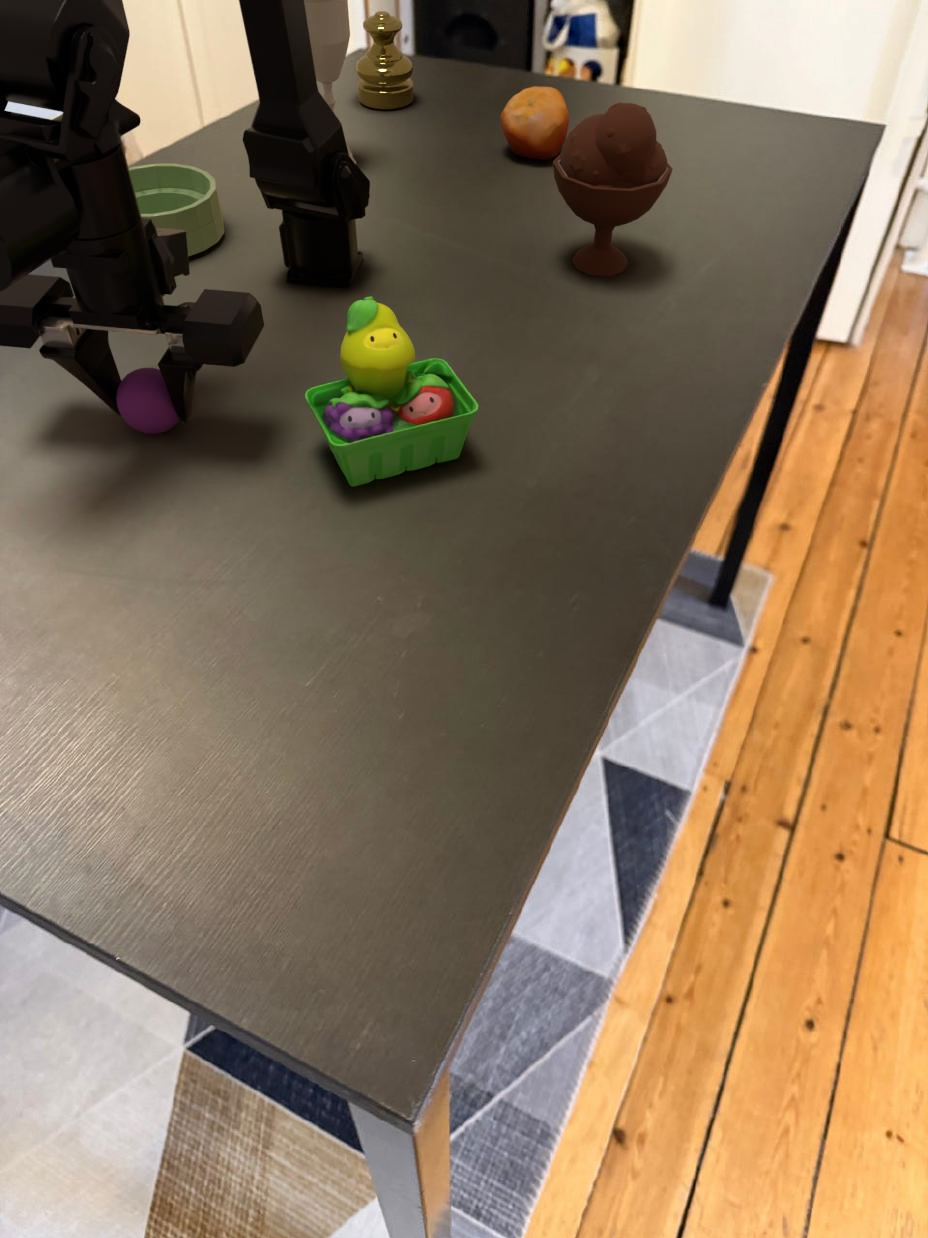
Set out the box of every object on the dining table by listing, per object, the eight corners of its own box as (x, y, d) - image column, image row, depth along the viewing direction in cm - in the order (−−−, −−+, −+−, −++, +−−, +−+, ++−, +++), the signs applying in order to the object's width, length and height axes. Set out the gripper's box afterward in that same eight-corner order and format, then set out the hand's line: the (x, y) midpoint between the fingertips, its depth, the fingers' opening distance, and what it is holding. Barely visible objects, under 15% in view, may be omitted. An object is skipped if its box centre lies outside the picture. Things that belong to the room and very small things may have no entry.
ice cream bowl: (666, 249, 92) (696, 89, 81) (633, 299, 85) (660, 132, 74) (569, 228, 95) (585, 70, 83) (530, 275, 88) (542, 110, 77)
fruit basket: (340, 503, 65) (323, 369, 57) (305, 434, 71) (285, 303, 62) (481, 464, 68) (485, 332, 60) (437, 402, 74) (435, 272, 65)
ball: (199, 411, 73) (185, 357, 69) (177, 449, 69) (162, 394, 66) (140, 406, 73) (123, 352, 69) (116, 443, 70) (97, 389, 66)
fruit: (587, 131, 108) (577, 79, 101) (557, 185, 108) (545, 136, 100) (529, 117, 111) (516, 65, 104) (500, 170, 110) (484, 121, 103)
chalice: (353, 179, 102) (339, -7, 89) (297, 173, 103) (274, -12, 89) (370, 154, 107) (359, -27, 93) (316, 148, 108) (297, -31, 94)
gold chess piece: (352, 108, 116) (345, 19, 109) (365, 88, 121) (360, 2, 114) (407, 112, 116) (404, 23, 108) (418, 92, 121) (416, 6, 113)
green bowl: (240, 215, 96) (231, 167, 92) (202, 271, 88) (191, 220, 84) (132, 207, 97) (119, 159, 93) (84, 261, 89) (68, 211, 85)
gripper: (268, 178, 63) (296, 369, 75) (19, 160, 65) (85, 350, 76) (218, 253, 56) (258, 451, 68) (-61, 230, 57) (26, 428, 69)
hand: (155, 416), depth 70 cm, fingers closed on ball, 5 cm apart
